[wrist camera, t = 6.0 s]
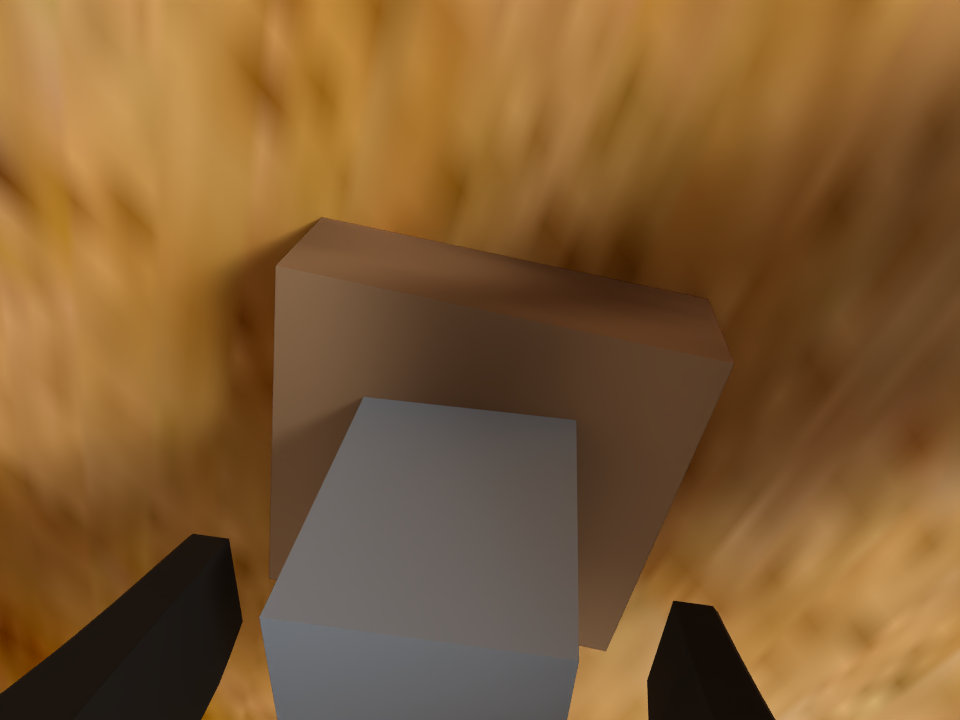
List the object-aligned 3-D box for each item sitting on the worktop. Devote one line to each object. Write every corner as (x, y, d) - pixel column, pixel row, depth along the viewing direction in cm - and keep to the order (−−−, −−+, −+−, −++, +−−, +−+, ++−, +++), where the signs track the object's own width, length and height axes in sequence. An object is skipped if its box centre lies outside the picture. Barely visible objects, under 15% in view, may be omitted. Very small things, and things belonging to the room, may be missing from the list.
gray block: (576, 420, 12) (578, 660, 8) (553, 570, 15) (545, 826, 10) (363, 396, 13) (259, 617, 8) (370, 548, 15) (289, 786, 11)
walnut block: (704, 289, 14) (734, 363, 12) (600, 553, 18) (605, 651, 16) (329, 210, 14) (275, 265, 12) (311, 491, 18) (269, 578, 16)
